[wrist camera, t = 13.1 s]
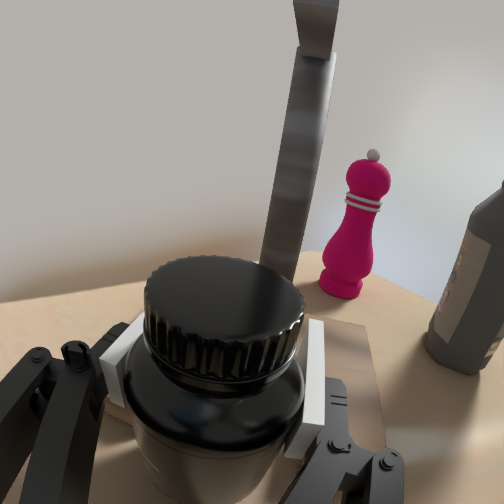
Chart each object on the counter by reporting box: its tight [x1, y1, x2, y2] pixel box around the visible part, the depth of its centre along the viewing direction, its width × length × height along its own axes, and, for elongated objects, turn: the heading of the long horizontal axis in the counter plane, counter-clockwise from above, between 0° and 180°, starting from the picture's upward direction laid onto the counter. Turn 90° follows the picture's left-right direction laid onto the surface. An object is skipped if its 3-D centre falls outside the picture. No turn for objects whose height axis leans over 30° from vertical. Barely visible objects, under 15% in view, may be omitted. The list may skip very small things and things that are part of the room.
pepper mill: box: [319, 149, 391, 299], centre depth 36 cm, size 7×7×20 cm
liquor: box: [426, 181, 504, 375], centre depth 22 cm, size 9×9×30 cm
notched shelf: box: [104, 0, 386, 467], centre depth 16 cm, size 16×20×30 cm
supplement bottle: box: [122, 255, 305, 504], centre depth 11 cm, size 7×7×12 cm
